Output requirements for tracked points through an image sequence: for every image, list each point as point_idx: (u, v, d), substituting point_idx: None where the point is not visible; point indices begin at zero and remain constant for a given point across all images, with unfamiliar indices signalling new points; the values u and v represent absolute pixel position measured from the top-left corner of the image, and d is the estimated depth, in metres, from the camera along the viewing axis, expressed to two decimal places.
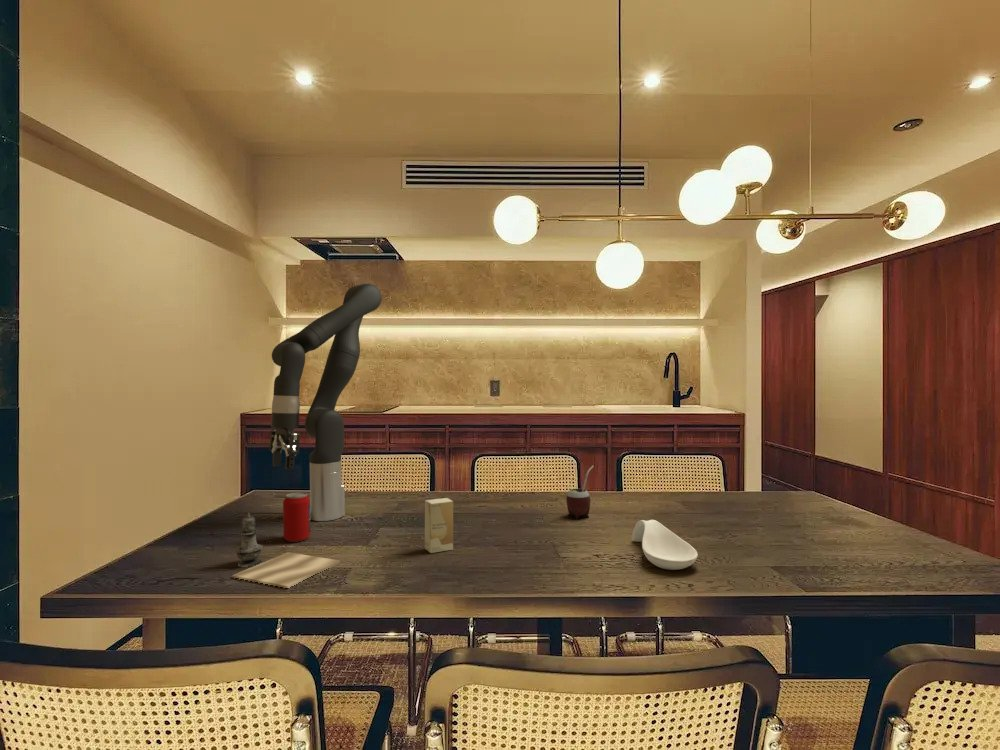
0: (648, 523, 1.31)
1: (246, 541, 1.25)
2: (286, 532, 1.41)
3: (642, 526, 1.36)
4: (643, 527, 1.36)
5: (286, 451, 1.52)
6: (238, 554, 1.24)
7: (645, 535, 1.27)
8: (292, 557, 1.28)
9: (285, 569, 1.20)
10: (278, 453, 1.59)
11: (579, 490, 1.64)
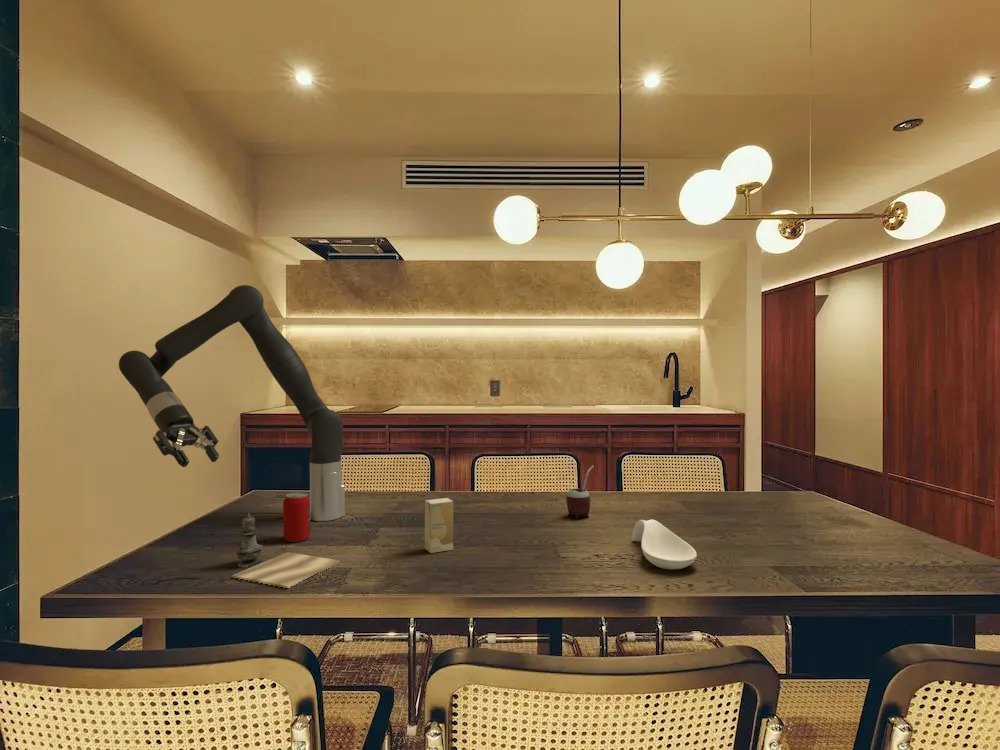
0: (648, 523, 1.31)
1: (246, 541, 1.25)
2: (286, 532, 1.41)
3: (642, 526, 1.36)
4: (643, 527, 1.36)
5: None
6: (238, 554, 1.24)
7: (644, 535, 1.27)
8: (292, 557, 1.28)
9: (285, 569, 1.20)
10: (208, 448, 1.37)
11: (579, 490, 1.64)
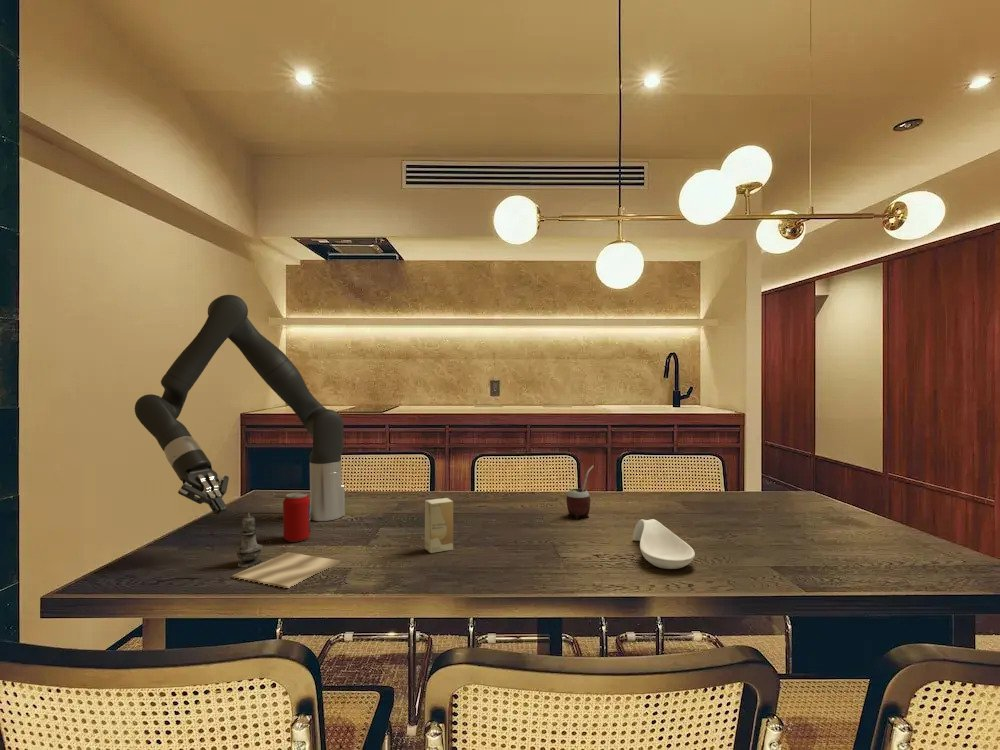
0: (648, 522, 1.32)
1: (246, 541, 1.25)
2: (286, 532, 1.41)
3: (642, 525, 1.36)
4: (644, 526, 1.37)
5: None
6: (238, 554, 1.24)
7: (644, 534, 1.27)
8: (292, 557, 1.28)
9: (285, 569, 1.20)
10: None
11: (579, 490, 1.64)
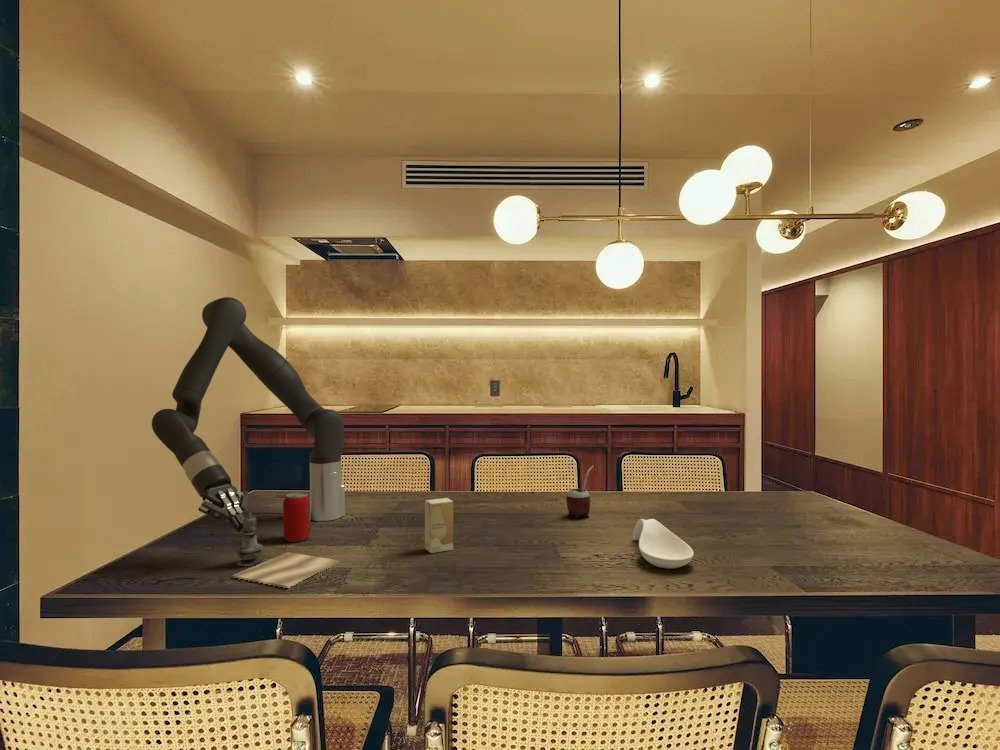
0: (647, 522, 1.32)
1: (246, 541, 1.25)
2: (286, 532, 1.41)
3: (642, 525, 1.37)
4: None
5: None
6: (238, 553, 1.24)
7: (643, 534, 1.28)
8: (292, 557, 1.28)
9: (285, 569, 1.20)
10: None
11: (579, 490, 1.64)
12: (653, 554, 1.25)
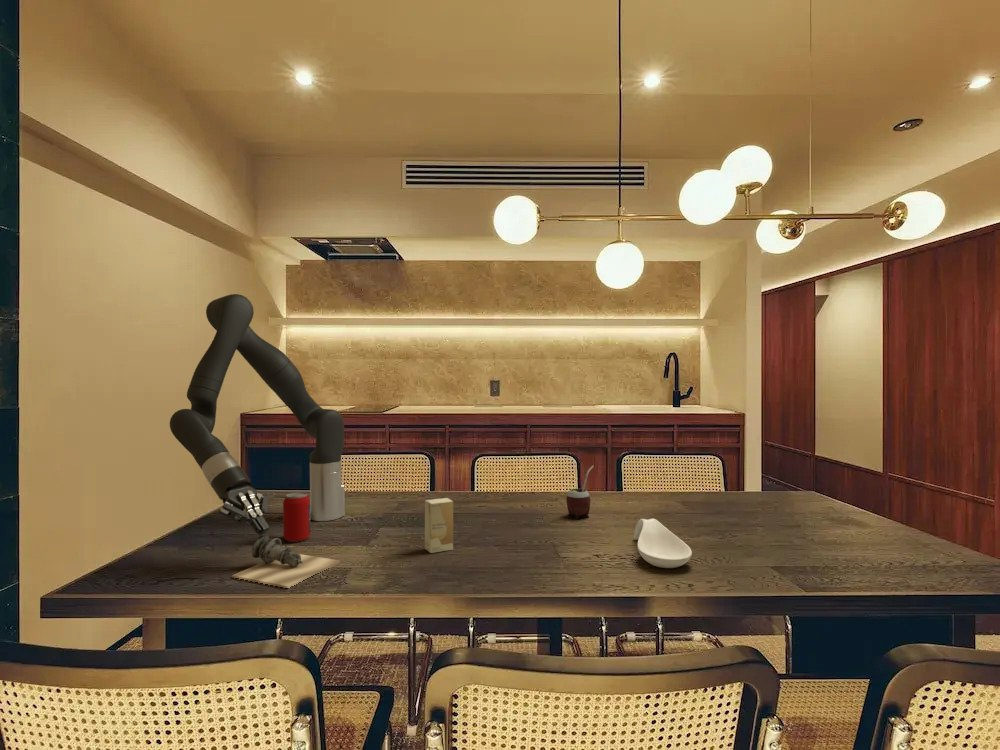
0: (647, 522, 1.32)
1: (274, 558, 1.22)
2: (286, 532, 1.41)
3: (643, 525, 1.37)
4: None
5: None
6: (262, 550, 1.22)
7: (642, 533, 1.28)
8: None
9: (285, 569, 1.20)
10: None
11: (579, 490, 1.64)
12: (652, 554, 1.25)
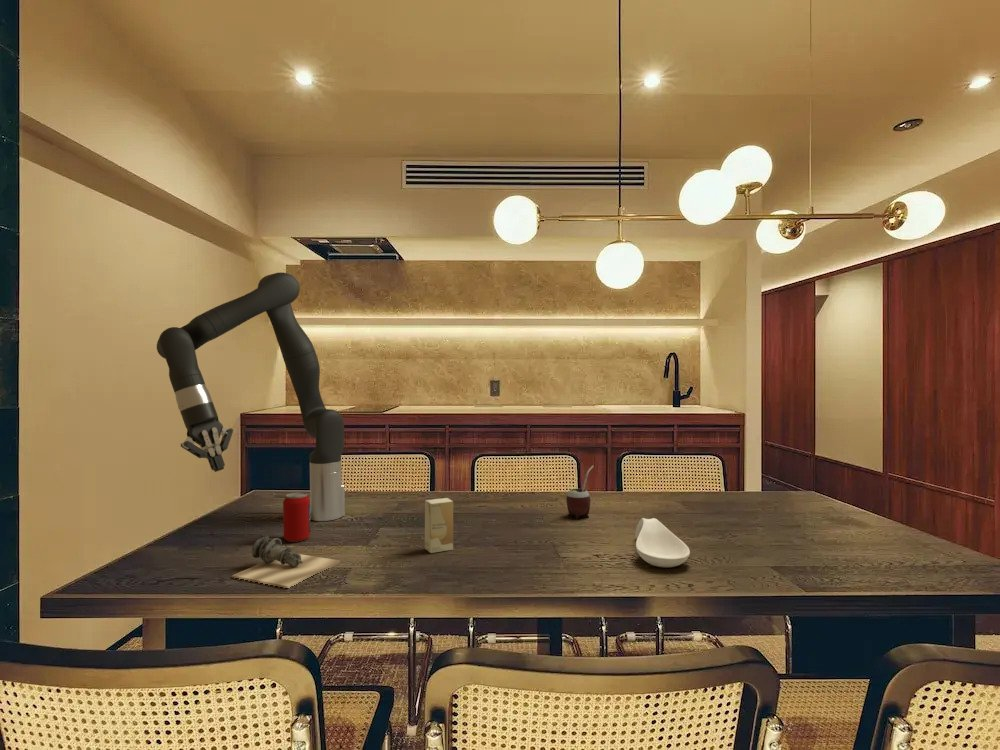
0: (647, 521, 1.33)
1: (274, 557, 1.22)
2: (286, 532, 1.41)
3: None
4: None
5: None
6: (262, 550, 1.22)
7: (641, 533, 1.28)
8: None
9: (285, 569, 1.20)
10: None
11: (579, 490, 1.64)
12: (651, 553, 1.25)
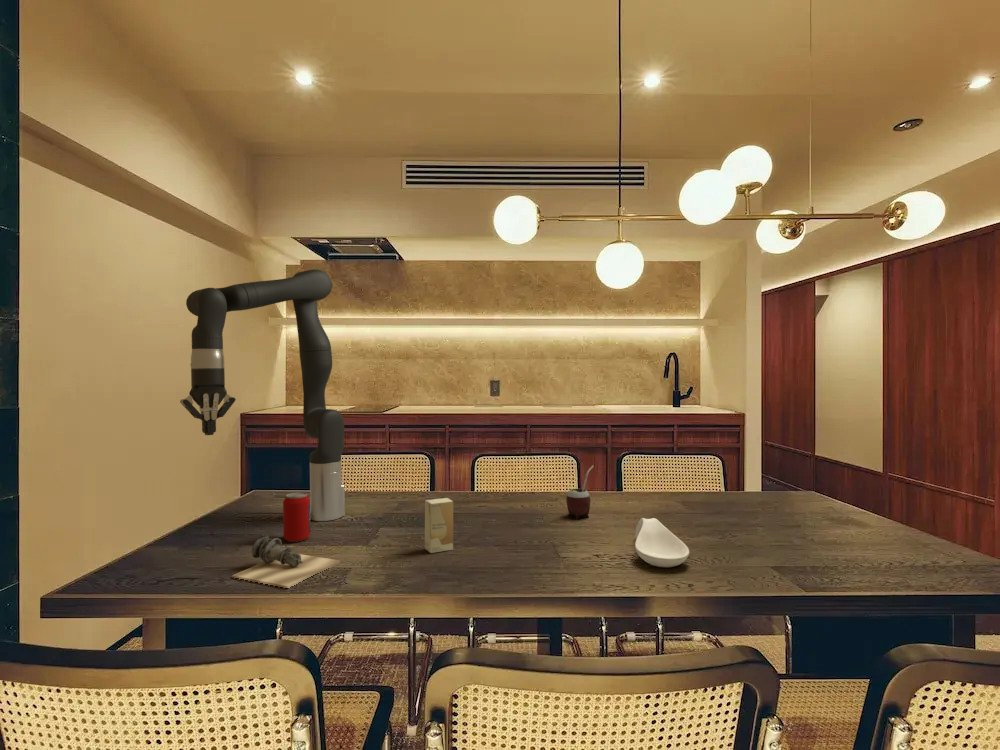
0: (647, 521, 1.33)
1: (274, 558, 1.22)
2: (286, 532, 1.41)
3: None
4: None
5: None
6: (262, 550, 1.22)
7: (641, 532, 1.29)
8: None
9: (285, 569, 1.20)
10: (209, 420, 1.38)
11: (579, 490, 1.64)
12: (650, 553, 1.26)
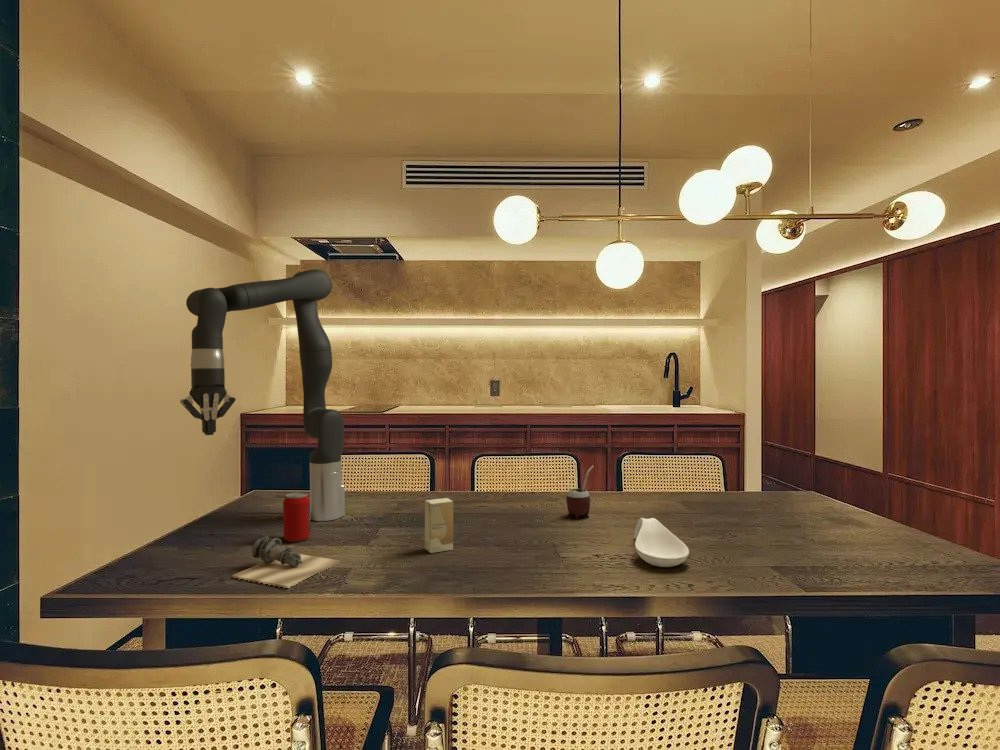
0: (646, 521, 1.33)
1: (274, 558, 1.22)
2: (286, 532, 1.41)
3: None
4: None
5: None
6: (262, 550, 1.22)
7: (640, 532, 1.29)
8: None
9: (285, 569, 1.20)
10: (209, 420, 1.38)
11: (579, 490, 1.64)
12: (650, 553, 1.26)
